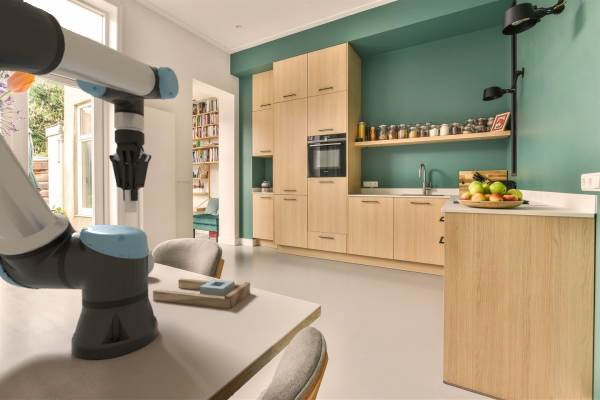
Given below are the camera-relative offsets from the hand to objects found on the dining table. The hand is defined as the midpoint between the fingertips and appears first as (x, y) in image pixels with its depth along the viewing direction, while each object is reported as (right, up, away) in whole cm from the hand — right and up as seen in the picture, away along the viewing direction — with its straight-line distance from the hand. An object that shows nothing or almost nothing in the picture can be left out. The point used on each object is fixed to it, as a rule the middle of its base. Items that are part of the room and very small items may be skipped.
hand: (130, 212), depth 87 cm
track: (+21, -25, 0) cm, 32 cm away
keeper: (+26, -25, -1) cm, 35 cm away
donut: (-7, -24, +19) cm, 32 cm away
